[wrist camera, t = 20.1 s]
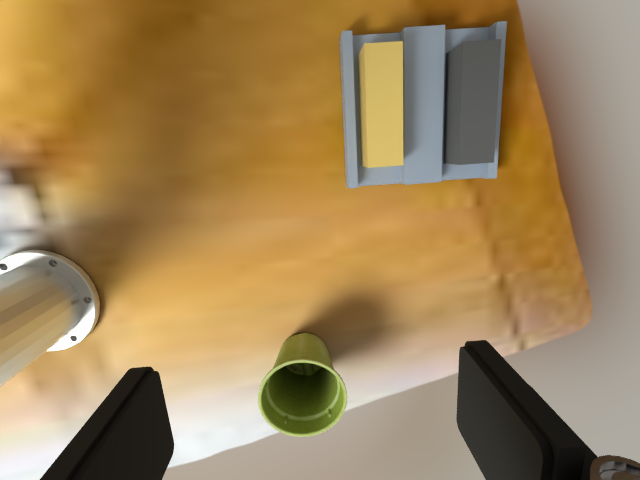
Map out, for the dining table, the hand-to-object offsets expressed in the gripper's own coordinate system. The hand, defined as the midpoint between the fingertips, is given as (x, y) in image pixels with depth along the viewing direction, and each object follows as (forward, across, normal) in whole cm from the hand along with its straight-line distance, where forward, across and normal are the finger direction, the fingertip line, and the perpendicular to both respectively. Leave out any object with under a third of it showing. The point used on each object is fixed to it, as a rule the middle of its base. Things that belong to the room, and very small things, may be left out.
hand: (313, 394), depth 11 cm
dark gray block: (+29, -17, -10) cm, 35 cm away
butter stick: (+29, -8, -11) cm, 32 cm away
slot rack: (+30, -12, -10) cm, 34 cm away
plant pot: (+31, +2, +18) cm, 35 cm away
